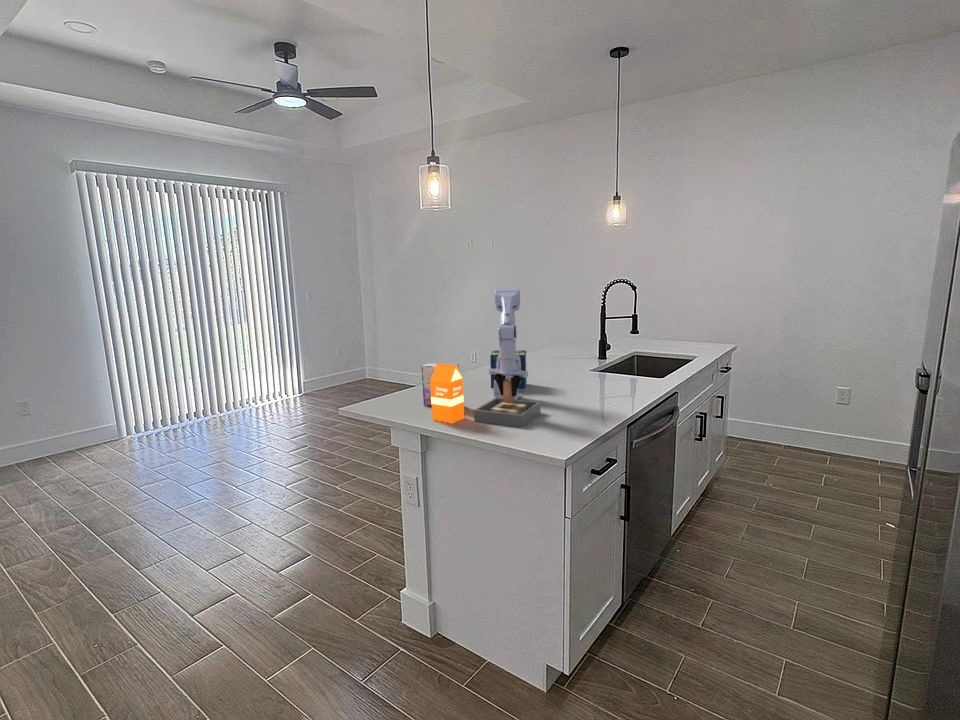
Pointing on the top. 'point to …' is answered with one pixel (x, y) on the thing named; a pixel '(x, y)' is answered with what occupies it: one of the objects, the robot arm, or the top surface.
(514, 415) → the tray
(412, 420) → the top surface
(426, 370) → the candy box
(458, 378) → the orange juice
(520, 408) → the plate
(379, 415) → the top surface
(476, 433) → the top surface
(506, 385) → the peg
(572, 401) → the top surface
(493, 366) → the protein box
